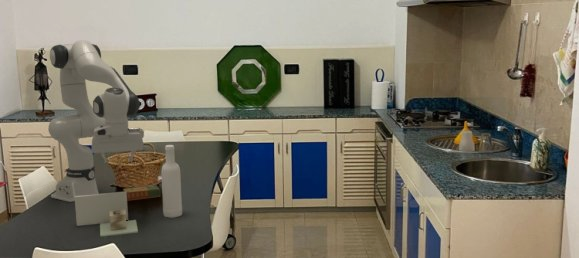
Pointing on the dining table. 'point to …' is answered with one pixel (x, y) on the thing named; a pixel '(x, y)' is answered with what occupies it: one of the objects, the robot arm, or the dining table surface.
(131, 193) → the carton
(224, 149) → the dining table surface
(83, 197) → the screen
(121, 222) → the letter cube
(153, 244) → the dining table surface
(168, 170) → the bottle
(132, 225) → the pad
